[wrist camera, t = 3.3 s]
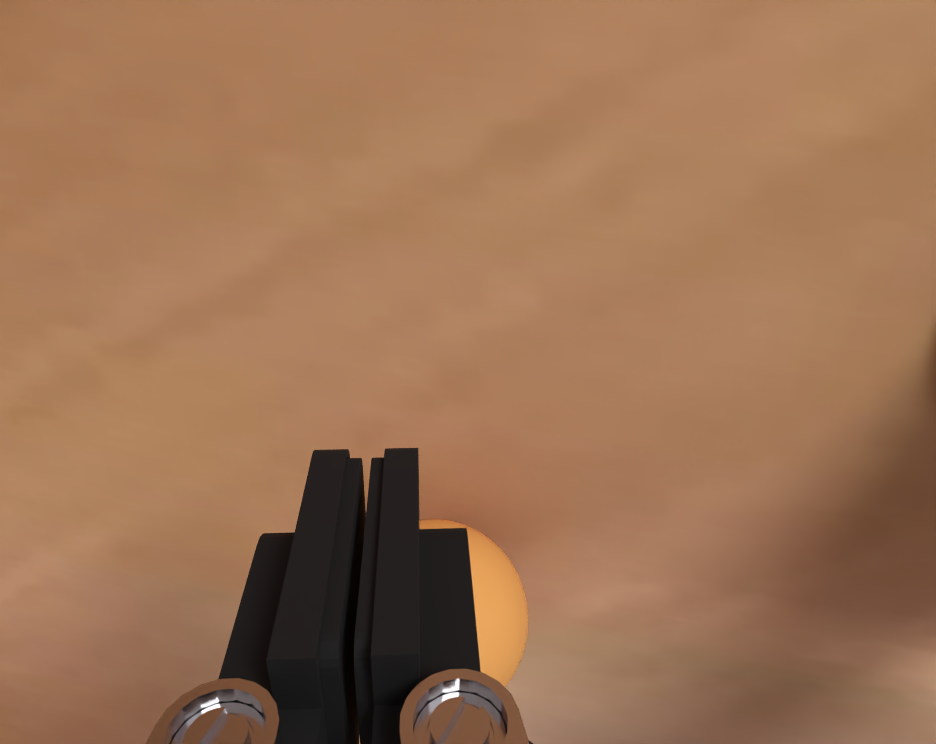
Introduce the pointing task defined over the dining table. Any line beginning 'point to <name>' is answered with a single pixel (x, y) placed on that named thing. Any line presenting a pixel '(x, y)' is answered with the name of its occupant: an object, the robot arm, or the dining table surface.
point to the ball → (494, 604)
